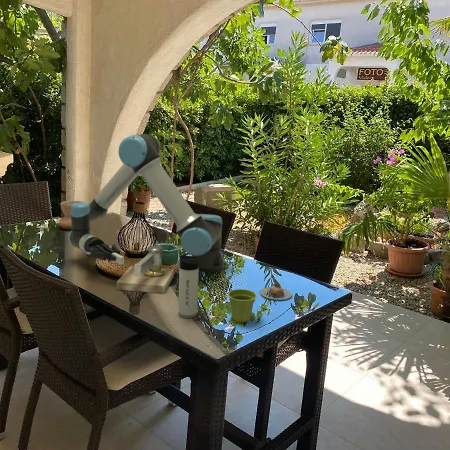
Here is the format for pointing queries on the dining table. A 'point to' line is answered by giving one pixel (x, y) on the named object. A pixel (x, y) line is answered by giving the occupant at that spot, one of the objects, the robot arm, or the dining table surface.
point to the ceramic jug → (67, 214)
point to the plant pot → (241, 304)
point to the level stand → (145, 281)
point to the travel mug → (188, 286)
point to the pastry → (276, 292)
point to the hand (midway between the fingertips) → (122, 260)
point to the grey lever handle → (150, 263)
